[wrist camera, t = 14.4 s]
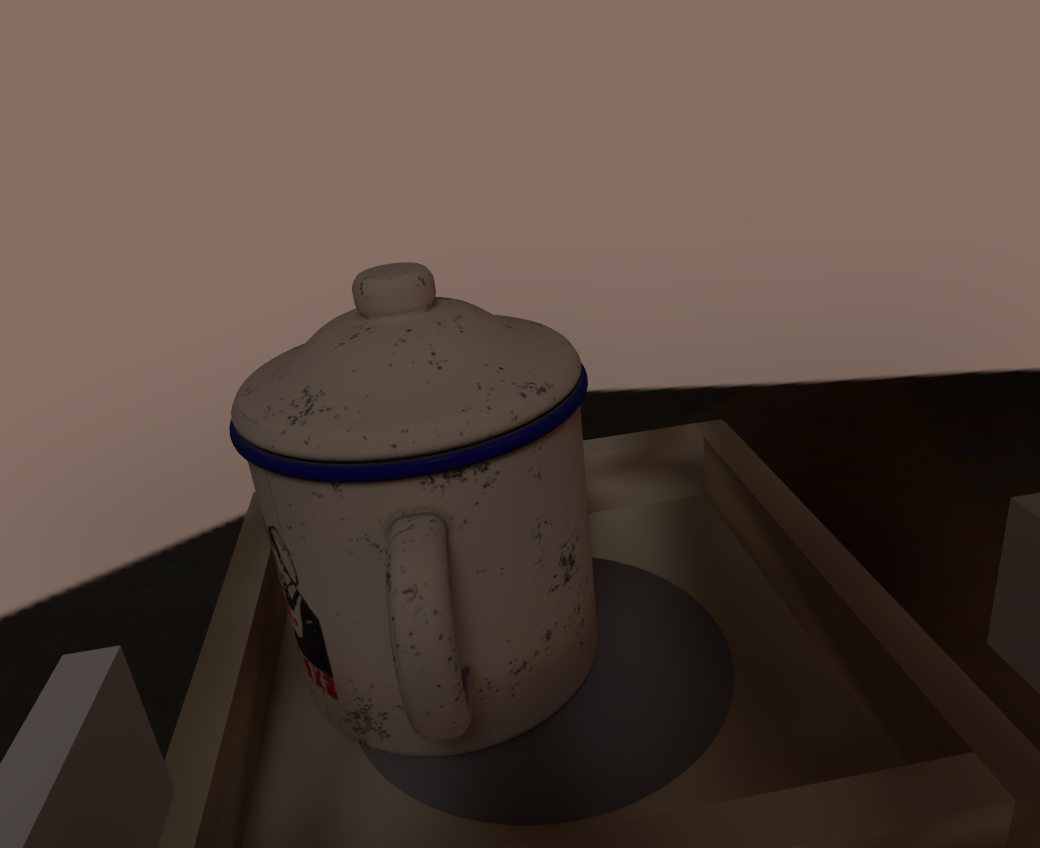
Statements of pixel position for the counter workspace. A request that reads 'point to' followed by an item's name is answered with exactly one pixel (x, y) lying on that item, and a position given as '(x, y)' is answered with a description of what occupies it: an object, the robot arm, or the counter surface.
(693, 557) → the housing tray
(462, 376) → the teacup with lid
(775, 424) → the counter surface
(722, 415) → the counter surface
